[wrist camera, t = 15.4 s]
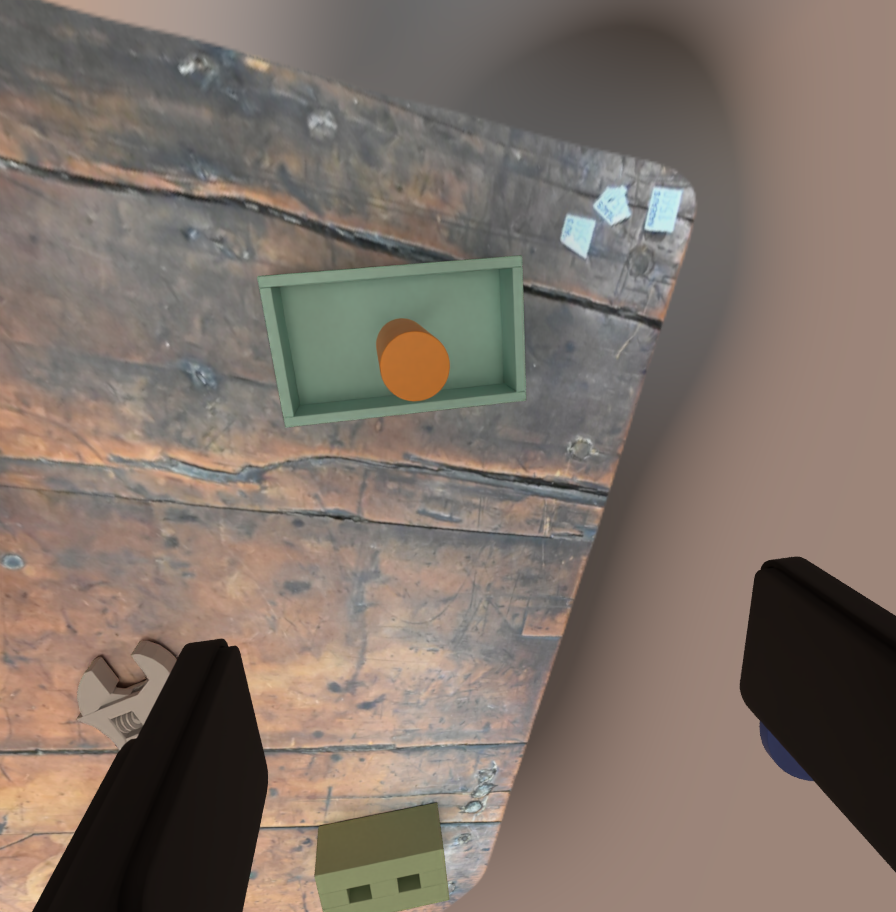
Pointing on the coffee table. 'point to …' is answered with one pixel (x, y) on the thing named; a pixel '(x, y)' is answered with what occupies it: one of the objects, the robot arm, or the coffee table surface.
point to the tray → (371, 307)
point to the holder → (382, 862)
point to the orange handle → (411, 360)
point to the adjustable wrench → (123, 693)
